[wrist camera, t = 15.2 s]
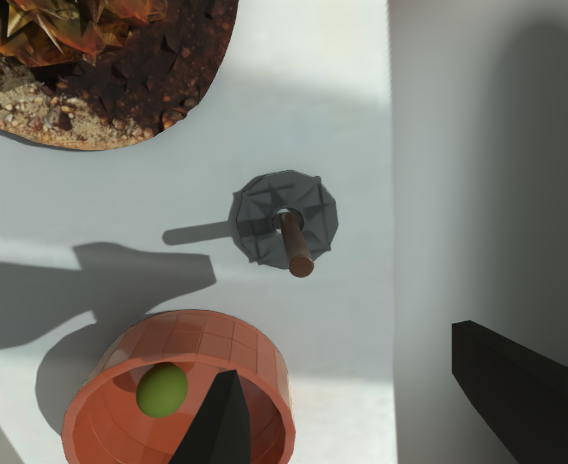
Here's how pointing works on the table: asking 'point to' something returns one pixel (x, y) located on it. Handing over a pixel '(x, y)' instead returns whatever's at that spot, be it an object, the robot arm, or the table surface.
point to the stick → (295, 246)
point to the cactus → (107, 67)
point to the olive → (161, 390)
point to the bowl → (200, 374)
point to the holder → (278, 195)
